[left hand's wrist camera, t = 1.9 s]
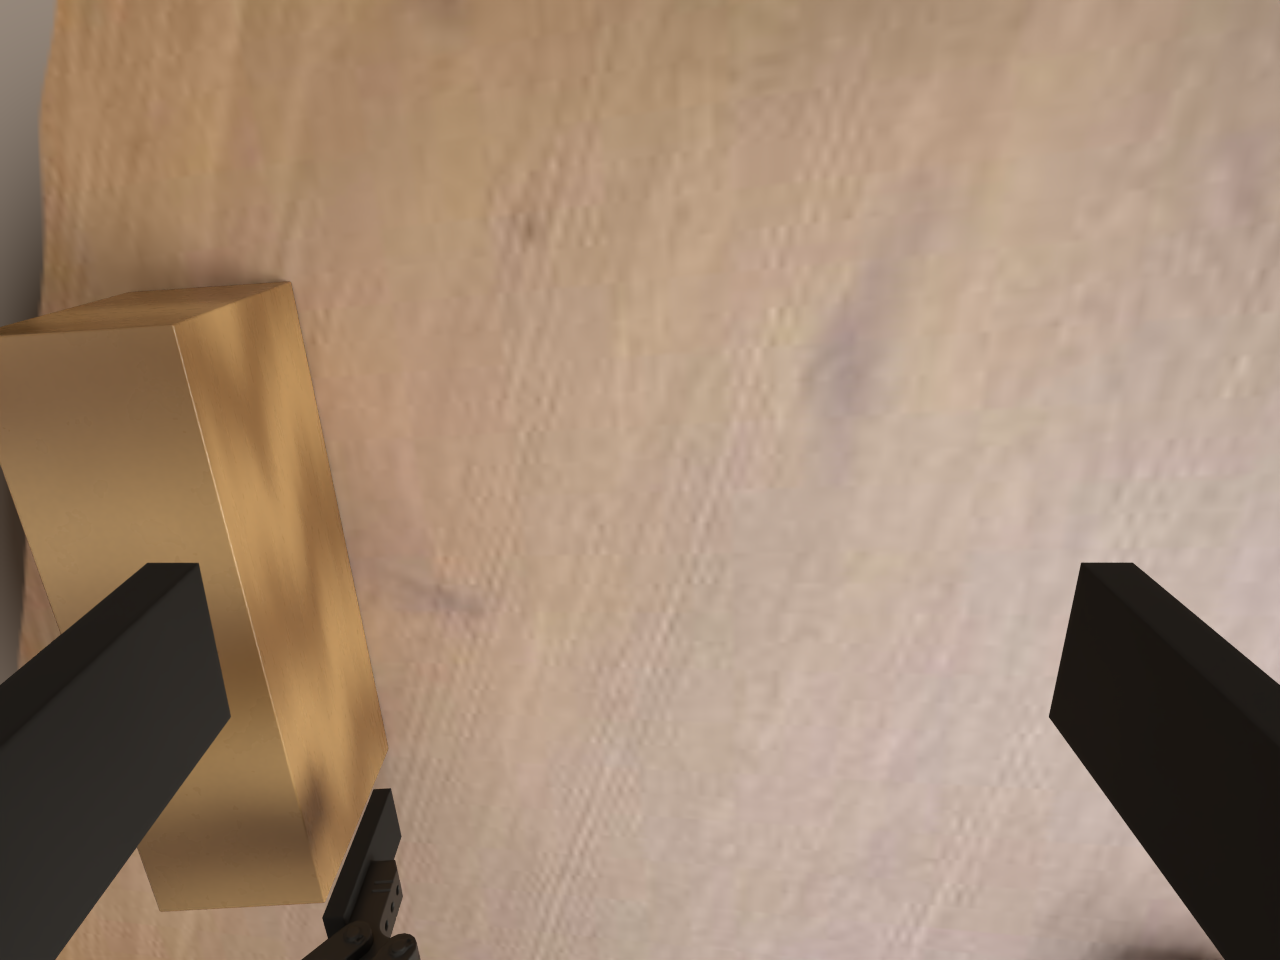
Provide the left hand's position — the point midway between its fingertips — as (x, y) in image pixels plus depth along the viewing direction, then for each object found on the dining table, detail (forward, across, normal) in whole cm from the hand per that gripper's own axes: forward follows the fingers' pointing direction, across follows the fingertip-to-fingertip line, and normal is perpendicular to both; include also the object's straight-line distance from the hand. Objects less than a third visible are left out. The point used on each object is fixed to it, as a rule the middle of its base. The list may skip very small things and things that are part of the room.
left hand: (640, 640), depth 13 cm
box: (+27, -18, -11) cm, 35 cm away
